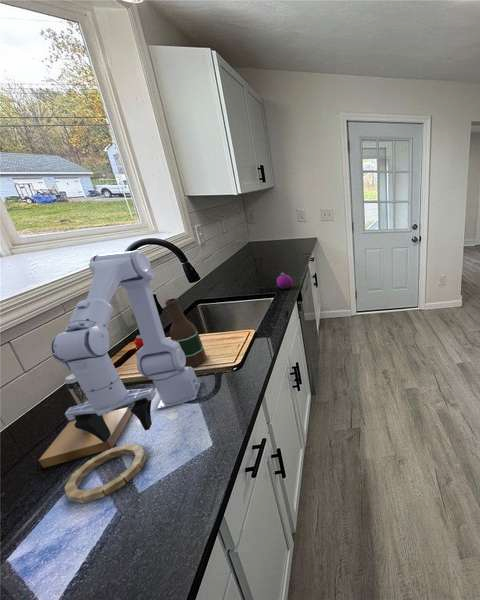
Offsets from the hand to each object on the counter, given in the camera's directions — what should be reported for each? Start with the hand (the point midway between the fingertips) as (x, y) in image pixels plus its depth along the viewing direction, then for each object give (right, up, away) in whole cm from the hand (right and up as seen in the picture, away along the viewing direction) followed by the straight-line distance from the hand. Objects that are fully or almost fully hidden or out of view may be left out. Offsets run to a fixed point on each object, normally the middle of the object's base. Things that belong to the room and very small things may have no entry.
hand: (128, 432), depth 69 cm
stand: (-19, -6, +11) cm, 22 cm away
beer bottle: (-13, +7, +42) cm, 44 cm away
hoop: (-5, -9, 0) cm, 10 cm away
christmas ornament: (-4, +40, +105) cm, 113 cm away
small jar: (-28, -2, +21) cm, 36 cm away
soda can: (-26, +7, +42) cm, 50 cm away
